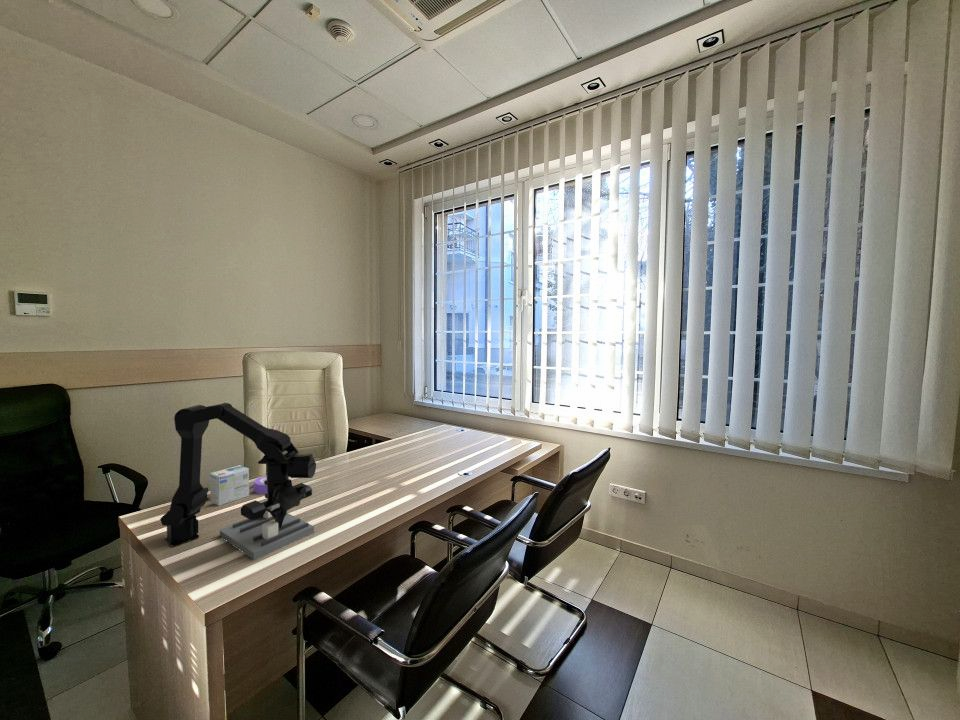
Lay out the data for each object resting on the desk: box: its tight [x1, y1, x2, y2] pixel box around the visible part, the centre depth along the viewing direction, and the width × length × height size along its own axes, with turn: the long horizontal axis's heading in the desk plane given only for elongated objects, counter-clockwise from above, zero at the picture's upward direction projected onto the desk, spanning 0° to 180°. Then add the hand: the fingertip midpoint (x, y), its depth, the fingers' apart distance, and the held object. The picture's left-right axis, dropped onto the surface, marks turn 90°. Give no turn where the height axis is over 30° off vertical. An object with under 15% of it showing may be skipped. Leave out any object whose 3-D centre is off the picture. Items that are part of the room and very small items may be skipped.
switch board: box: [219, 511, 315, 561], centre depth 117 cm, size 18×20×3 cm
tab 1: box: [263, 511, 272, 519], centre depth 123 cm, size 3×3×4 cm
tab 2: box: [262, 520, 278, 540], centre depth 111 cm, size 3×3×4 cm
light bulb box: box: [209, 464, 250, 507], centre depth 139 cm, size 11×7×11 cm, turn 149°
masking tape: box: [253, 475, 267, 495], centre depth 150 cm, size 12×12×4 cm
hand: (279, 527), depth 114 cm, fingers closed
